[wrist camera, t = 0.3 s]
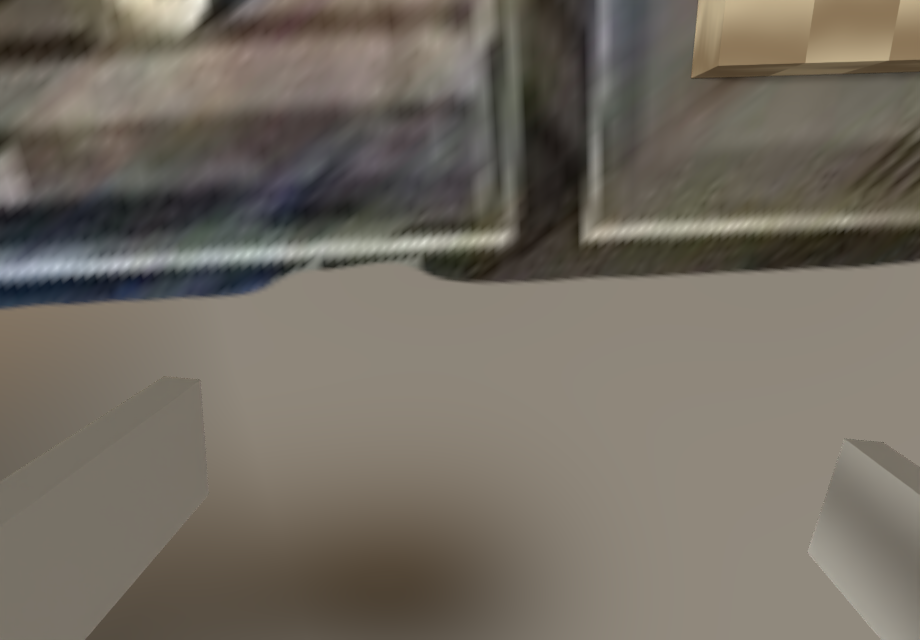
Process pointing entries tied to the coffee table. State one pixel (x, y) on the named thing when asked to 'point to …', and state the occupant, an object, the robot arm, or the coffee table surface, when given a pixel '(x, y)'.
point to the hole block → (805, 37)
